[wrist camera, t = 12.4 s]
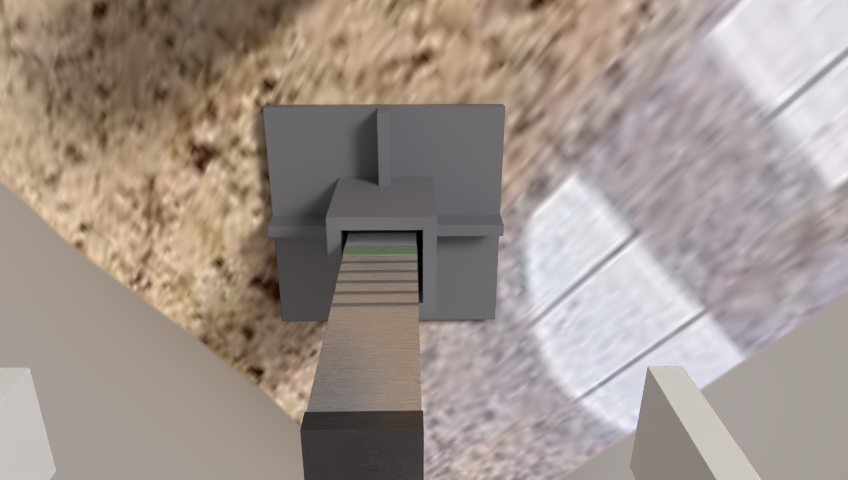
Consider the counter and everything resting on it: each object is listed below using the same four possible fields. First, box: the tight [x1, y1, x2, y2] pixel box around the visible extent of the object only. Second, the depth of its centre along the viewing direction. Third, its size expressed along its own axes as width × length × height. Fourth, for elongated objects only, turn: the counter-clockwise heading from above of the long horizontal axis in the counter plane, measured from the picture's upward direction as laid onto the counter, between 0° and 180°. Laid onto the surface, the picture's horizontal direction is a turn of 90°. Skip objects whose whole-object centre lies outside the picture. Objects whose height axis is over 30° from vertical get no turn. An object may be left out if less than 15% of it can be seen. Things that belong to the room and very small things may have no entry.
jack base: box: [263, 104, 505, 321], centre depth 43 cm, size 16×16×9 cm
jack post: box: [300, 230, 424, 480], centre depth 32 cm, size 4×4×20 cm
